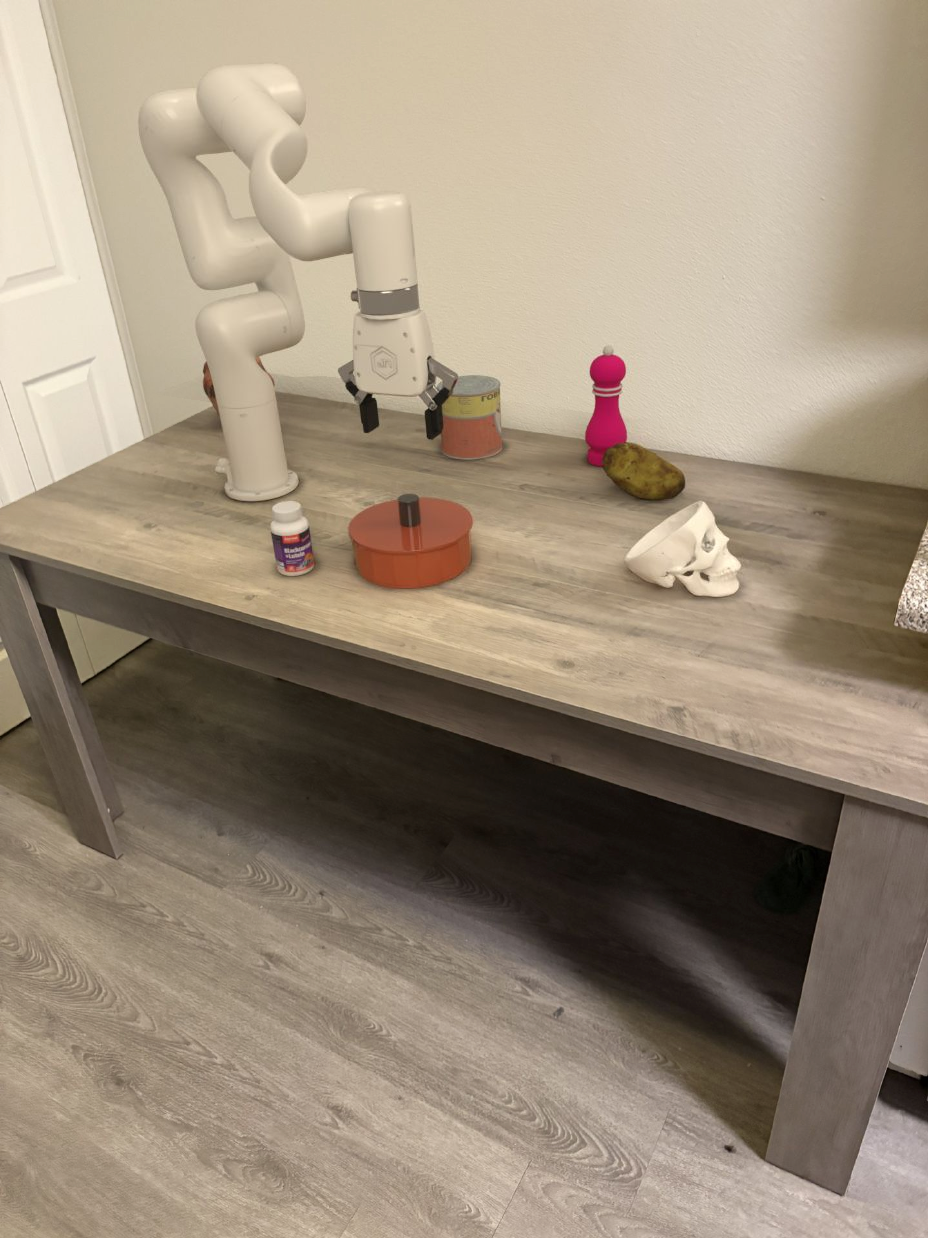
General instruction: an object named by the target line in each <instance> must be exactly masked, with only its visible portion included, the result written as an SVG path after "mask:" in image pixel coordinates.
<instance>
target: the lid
mask: <svg viewBox="0 0 928 1238" xmlns="http://www.w3.org/2000/svg"><path fill="white" fill-rule="evenodd" d="M473 521H474V519H473V515H472V513H471V512H470V511H469V510H468V509H467V508H466V507H465V506H463V505H462V504H459V503H457V502H455V501H452V500H447V499H442V498H437V497H425V496H423V497H421V496H419V495H418V494H416V493H404V494H401V495H398V497H397V498H396V499H391V500H386V501H383V502H380V503H377V504H373V505H371V506H369V507H367V508H365V509H363V510H361V511H360V512H358V513H357V514H356V515H354V516H353V518H352V519H351V520H350V522H349V524H348V527H347V531H348V536H349V538H350V539H351V542H352V541H353V542H355V543H356V544H357V545H359V546H360V547H363V548H365V549H367V550H371V551H374V552H379V553H385V554H416V553H424V552H429V551H434V550H438V549H441V548H444V547H447V546H449V545H452V544H454V543H456V542H458V541H459V540H461V539H462V538H464V537H465V536H466V535H467V534H468V533H469V532H470V531H471V530H472V528H473V526H474V522H473Z"/></svg>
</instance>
